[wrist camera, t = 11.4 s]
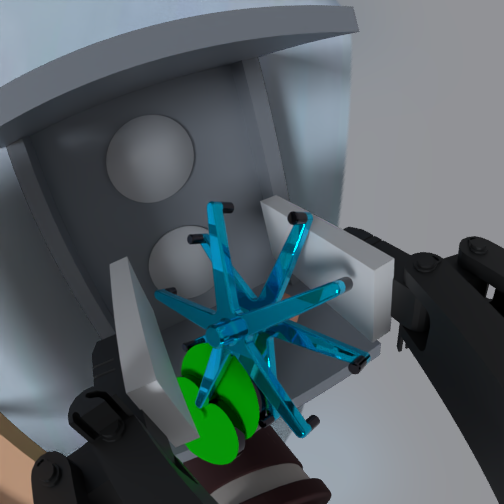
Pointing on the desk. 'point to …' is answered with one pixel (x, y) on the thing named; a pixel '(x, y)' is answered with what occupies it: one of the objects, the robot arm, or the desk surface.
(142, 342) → the robot arm
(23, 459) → the lid
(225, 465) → the coffee cup
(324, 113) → the desk surface
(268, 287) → the stick construction toy
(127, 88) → the housing
